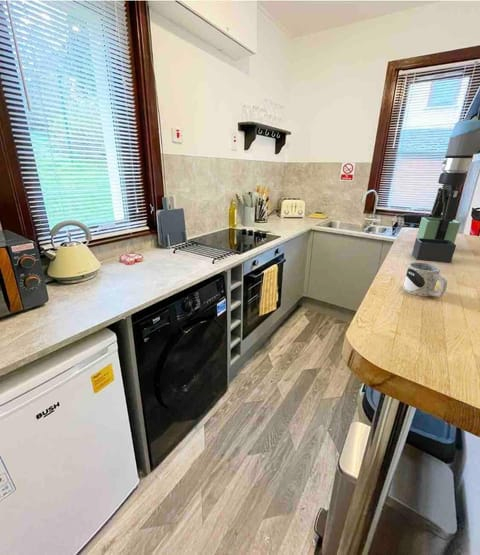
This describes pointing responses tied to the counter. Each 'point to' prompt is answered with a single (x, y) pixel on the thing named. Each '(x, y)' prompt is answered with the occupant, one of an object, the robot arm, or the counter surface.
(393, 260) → the counter surface
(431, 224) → the green basket
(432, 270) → the mug
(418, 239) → the charcoal basket
